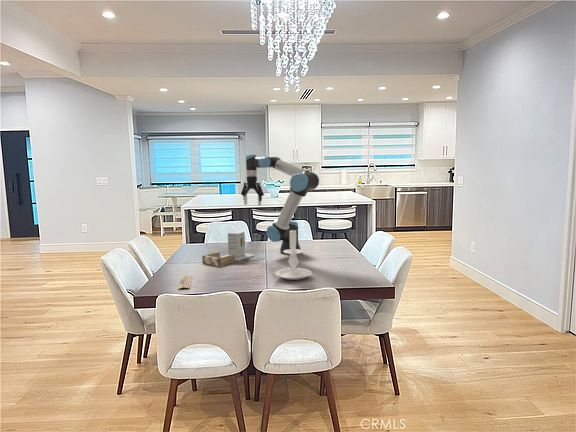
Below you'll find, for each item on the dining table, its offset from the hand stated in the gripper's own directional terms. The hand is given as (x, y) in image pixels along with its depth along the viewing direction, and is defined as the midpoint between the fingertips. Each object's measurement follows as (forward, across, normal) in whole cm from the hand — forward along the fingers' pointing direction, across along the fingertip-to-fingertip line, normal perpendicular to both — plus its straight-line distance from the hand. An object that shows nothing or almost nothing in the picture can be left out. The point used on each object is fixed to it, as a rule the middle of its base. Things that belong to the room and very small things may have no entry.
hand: (252, 205), depth 291 cm
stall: (+35, +2, -37) cm, 51 cm away
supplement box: (+34, +2, -20) cm, 40 cm away
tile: (+35, +2, -20) cm, 40 cm away
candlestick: (+35, +64, -42) cm, 84 cm away
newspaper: (+36, +20, -81) cm, 91 cm away
